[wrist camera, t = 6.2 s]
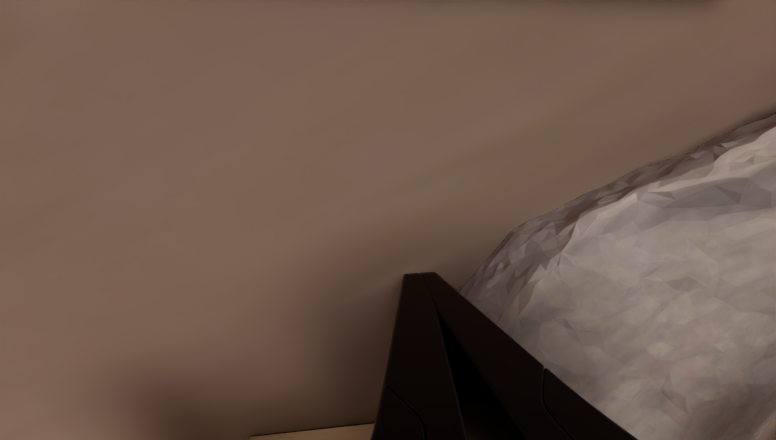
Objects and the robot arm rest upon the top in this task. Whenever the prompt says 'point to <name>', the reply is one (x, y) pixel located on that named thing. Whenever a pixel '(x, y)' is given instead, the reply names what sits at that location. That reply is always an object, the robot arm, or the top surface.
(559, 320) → the stone block
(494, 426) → the robot arm
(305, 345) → the top surface
